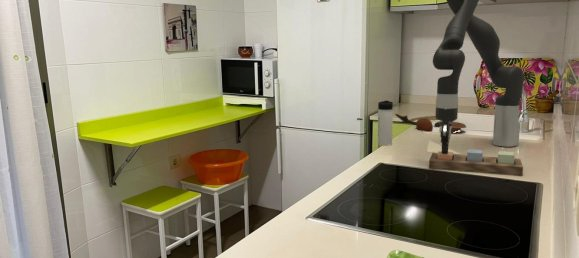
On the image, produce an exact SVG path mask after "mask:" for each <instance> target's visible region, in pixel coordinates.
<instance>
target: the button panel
mask: <svg viewBox="0 0 579 258" xmlns="http://www.w3.org/2000/svg"><path fill="white" fill-rule="evenodd" d="M437 154H438V152H432V154H431V155H430V158H429V160H428V169H430V170H431V169H432V170H442V171H443V170H445V171H458V172H466V173H467V172H469V173H470V172H471V173H480V174H494V175H508V176H516V177H517V176H519V177H523V174H524V173H523V171H524V166H523V163H522V159H521V158H514V164H501V163H498V156H497V157H496V156H483V157H482V162H473V161H467V154H454V153H453V160H445V159H437Z"/></svg>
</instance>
